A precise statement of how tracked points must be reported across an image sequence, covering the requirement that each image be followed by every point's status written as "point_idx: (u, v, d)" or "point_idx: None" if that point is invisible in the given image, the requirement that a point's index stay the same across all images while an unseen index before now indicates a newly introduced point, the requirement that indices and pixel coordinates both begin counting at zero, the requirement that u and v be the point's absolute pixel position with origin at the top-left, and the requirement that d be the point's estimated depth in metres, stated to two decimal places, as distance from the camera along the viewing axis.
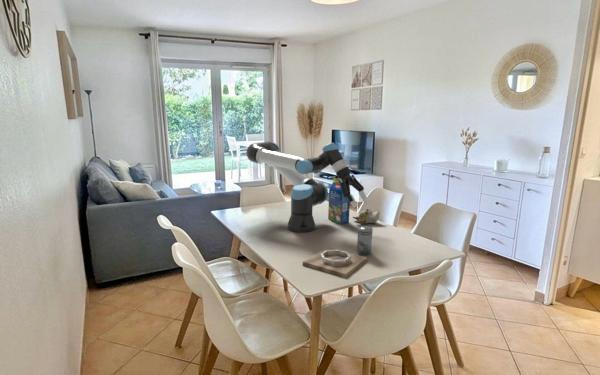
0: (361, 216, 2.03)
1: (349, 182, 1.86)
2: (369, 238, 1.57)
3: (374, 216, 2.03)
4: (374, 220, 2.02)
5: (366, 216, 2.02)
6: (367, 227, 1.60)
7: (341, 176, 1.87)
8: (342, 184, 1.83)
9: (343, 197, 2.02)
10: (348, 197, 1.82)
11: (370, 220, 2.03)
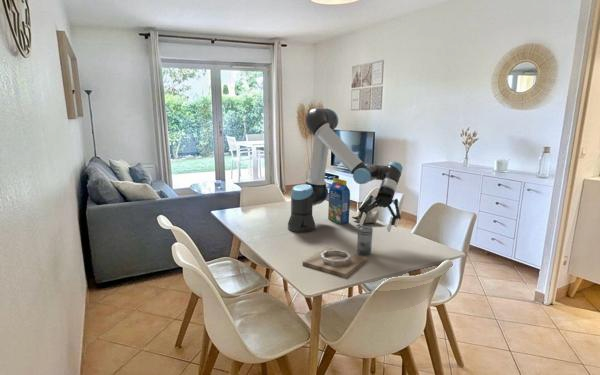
0: None
1: None
2: (369, 238, 1.57)
3: (374, 216, 2.03)
4: (374, 220, 2.03)
5: (366, 216, 2.03)
6: (367, 227, 1.60)
7: (392, 197, 1.69)
8: None
9: (343, 197, 2.02)
10: (395, 219, 1.62)
11: (370, 220, 2.03)
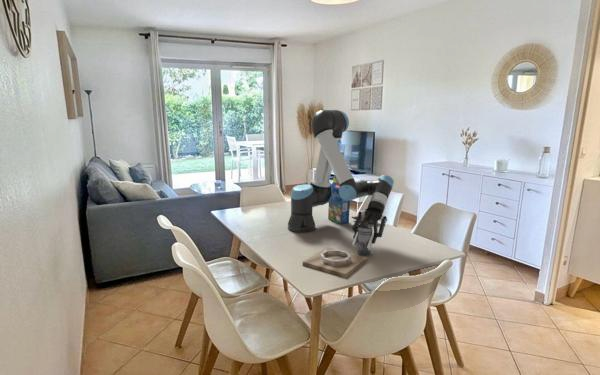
0: None
1: None
2: (369, 238, 1.57)
3: None
4: None
5: None
6: (367, 227, 1.60)
7: None
8: (384, 223, 1.60)
9: None
10: (375, 238, 1.57)
11: None
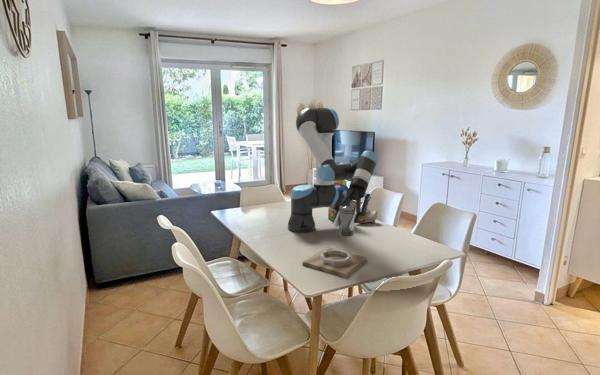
0: (360, 216, 2.04)
1: None
2: (351, 217, 1.46)
3: (373, 215, 2.04)
4: (373, 219, 2.04)
5: (365, 216, 2.03)
6: (349, 206, 1.49)
7: None
8: (367, 201, 1.49)
9: None
10: (358, 216, 1.46)
11: (369, 219, 2.04)
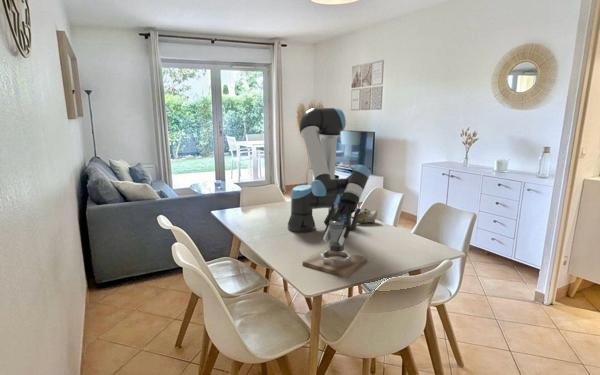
0: (360, 216, 2.04)
1: None
2: (341, 232, 1.45)
3: (372, 215, 2.04)
4: (372, 219, 2.04)
5: (365, 216, 2.03)
6: (339, 220, 1.48)
7: None
8: (357, 216, 1.48)
9: None
10: (348, 232, 1.45)
11: (368, 219, 2.04)
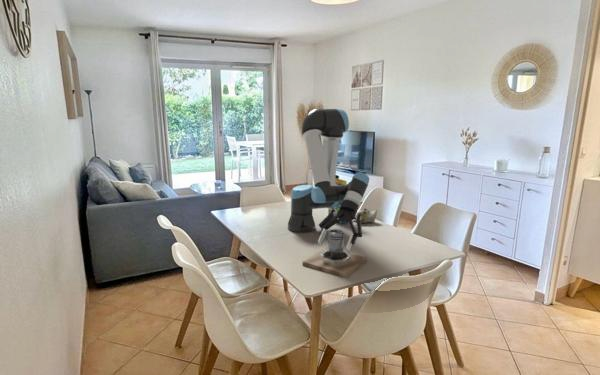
0: None
1: None
2: (340, 243, 1.46)
3: (372, 215, 2.04)
4: (372, 219, 2.04)
5: (365, 216, 2.03)
6: (338, 231, 1.49)
7: (355, 211, 1.53)
8: (360, 222, 1.49)
9: None
10: (355, 237, 1.45)
11: (368, 219, 2.04)
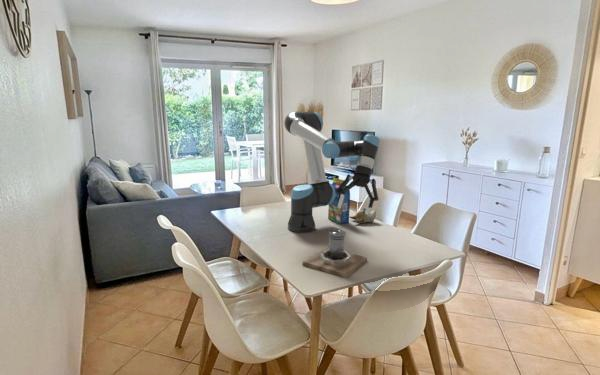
0: (359, 215, 2.04)
1: None
2: (341, 243, 1.46)
3: (371, 215, 2.05)
4: (372, 219, 2.04)
5: (364, 216, 2.04)
6: (339, 231, 1.49)
7: (369, 176, 1.64)
8: (375, 186, 1.61)
9: None
10: (372, 202, 1.60)
11: (368, 219, 2.05)
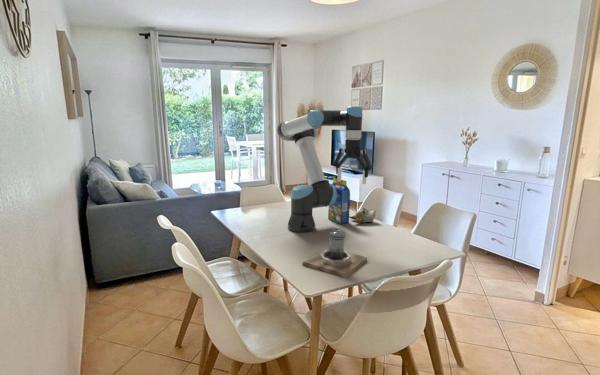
0: (358, 215, 2.05)
1: (359, 156, 1.73)
2: (341, 243, 1.46)
3: (371, 215, 2.05)
4: (371, 219, 2.05)
5: (364, 216, 2.04)
6: (339, 231, 1.49)
7: (359, 147, 1.70)
8: (366, 156, 1.69)
9: (343, 197, 2.02)
10: (367, 172, 1.70)
11: (367, 219, 2.05)
